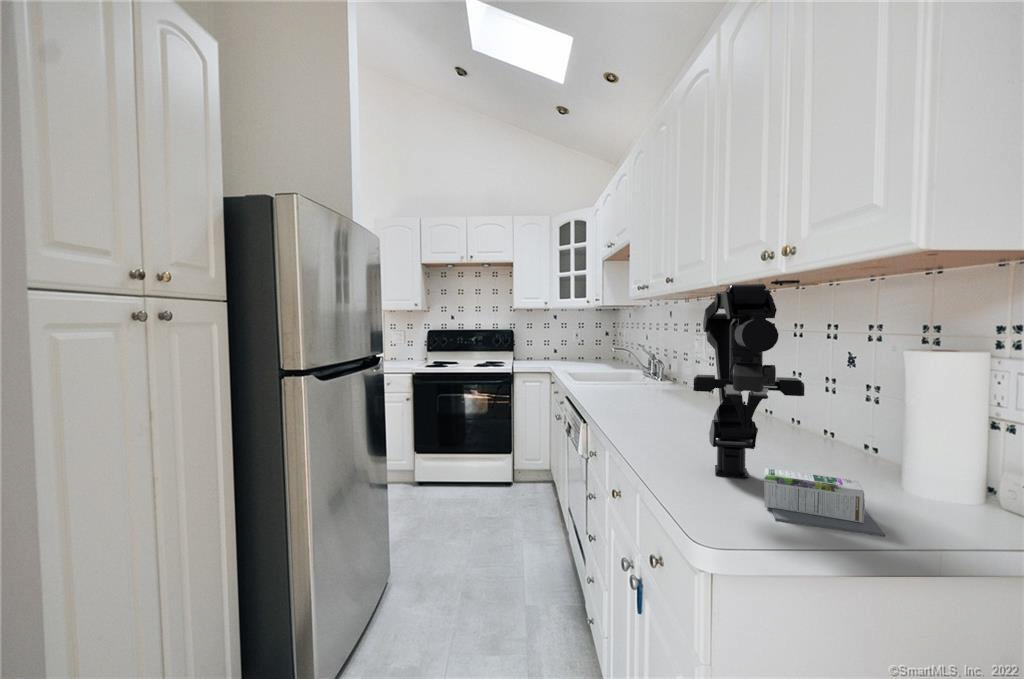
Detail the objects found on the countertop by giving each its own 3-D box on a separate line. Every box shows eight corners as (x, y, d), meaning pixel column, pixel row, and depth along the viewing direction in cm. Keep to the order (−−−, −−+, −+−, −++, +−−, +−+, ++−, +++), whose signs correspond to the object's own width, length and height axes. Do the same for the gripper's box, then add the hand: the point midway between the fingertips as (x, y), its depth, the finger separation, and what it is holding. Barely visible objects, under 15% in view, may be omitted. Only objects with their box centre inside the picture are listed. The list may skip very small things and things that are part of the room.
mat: (765, 488, 92) (765, 486, 92) (855, 499, 86) (855, 497, 86) (775, 520, 77) (775, 517, 77) (885, 536, 71) (885, 533, 71)
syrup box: (764, 467, 86) (859, 478, 79) (764, 497, 87) (859, 511, 79) (763, 476, 81) (865, 489, 74) (764, 508, 82) (865, 524, 74)
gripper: (692, 350, 84) (692, 433, 85) (810, 352, 77) (809, 443, 77) (694, 347, 94) (694, 421, 95) (799, 348, 87) (798, 429, 87)
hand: (745, 428), depth 88 cm, fingers closed
